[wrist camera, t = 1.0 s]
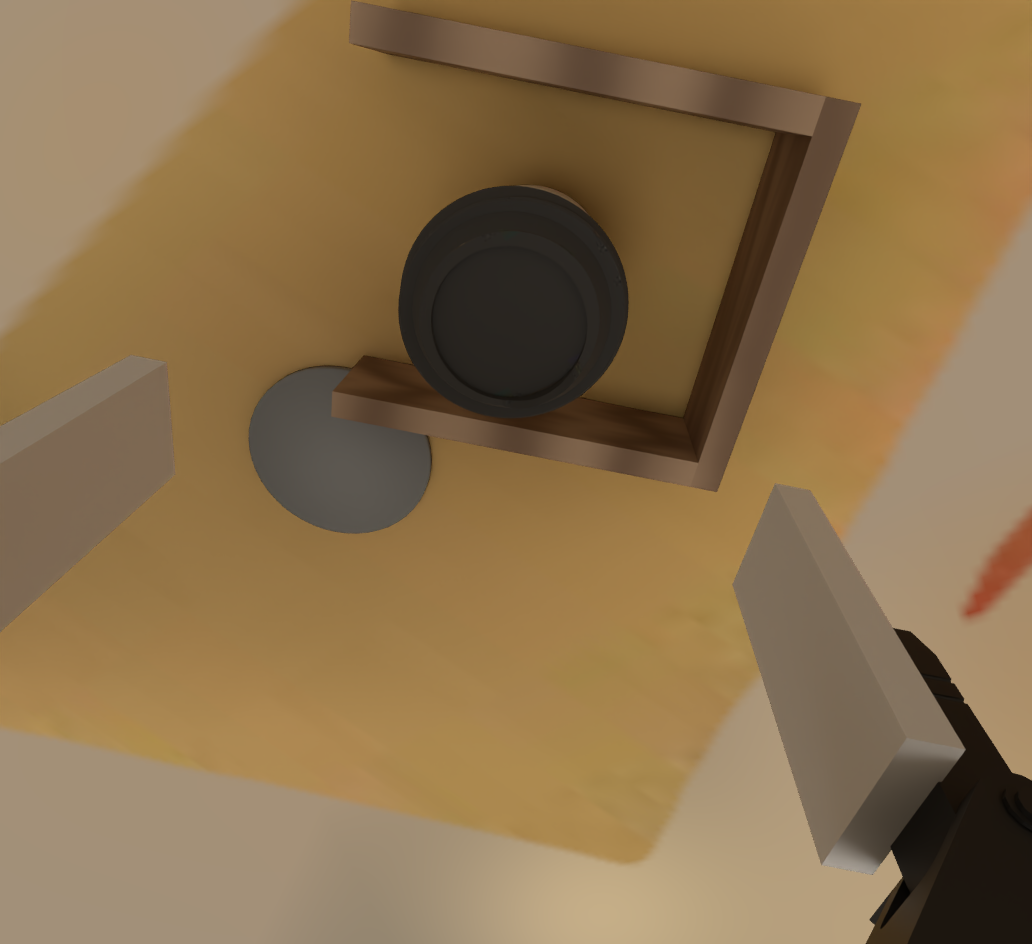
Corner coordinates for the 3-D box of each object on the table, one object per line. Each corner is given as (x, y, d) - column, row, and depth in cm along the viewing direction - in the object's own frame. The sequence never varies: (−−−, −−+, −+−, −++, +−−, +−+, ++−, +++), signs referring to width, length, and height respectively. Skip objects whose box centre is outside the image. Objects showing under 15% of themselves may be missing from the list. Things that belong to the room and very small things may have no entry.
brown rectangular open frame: (362, 378, 42) (331, 416, 37) (387, 17, 33) (351, 0, 28) (699, 444, 42) (717, 492, 37) (816, 104, 33) (861, 103, 28)
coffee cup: (421, 214, 37) (335, 271, 24) (569, 128, 35) (564, 139, 22) (499, 355, 41) (462, 473, 28) (640, 287, 38) (671, 381, 25)
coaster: (253, 510, 48) (249, 515, 47) (251, 348, 42) (247, 351, 41) (421, 543, 48) (419, 548, 47) (441, 386, 42) (440, 389, 41)
